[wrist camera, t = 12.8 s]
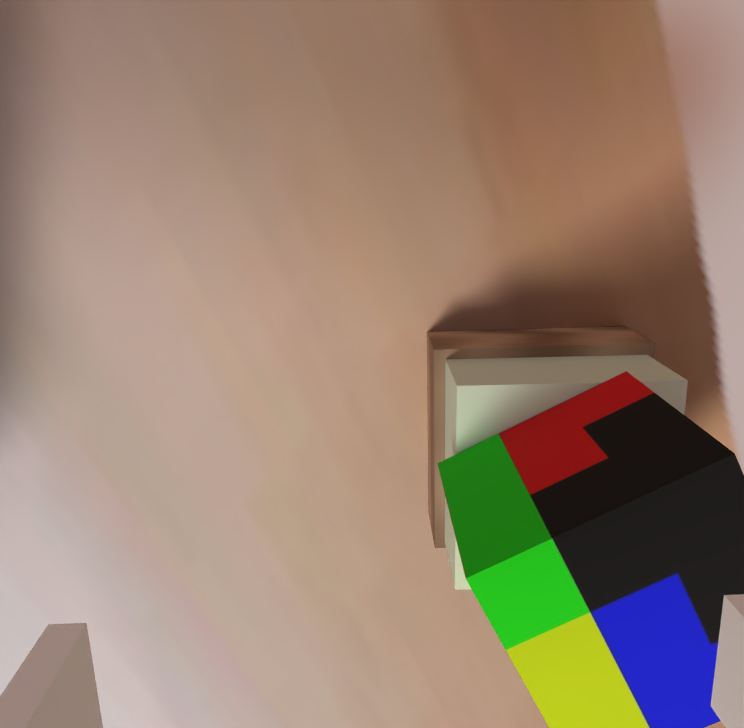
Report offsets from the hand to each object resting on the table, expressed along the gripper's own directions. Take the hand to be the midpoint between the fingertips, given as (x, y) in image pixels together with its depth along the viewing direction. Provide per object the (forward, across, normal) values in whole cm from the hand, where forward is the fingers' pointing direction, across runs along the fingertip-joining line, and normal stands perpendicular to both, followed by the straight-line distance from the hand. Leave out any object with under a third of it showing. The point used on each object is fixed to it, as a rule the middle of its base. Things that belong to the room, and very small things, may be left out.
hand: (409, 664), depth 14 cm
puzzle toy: (+19, +10, -6) cm, 22 cm away
